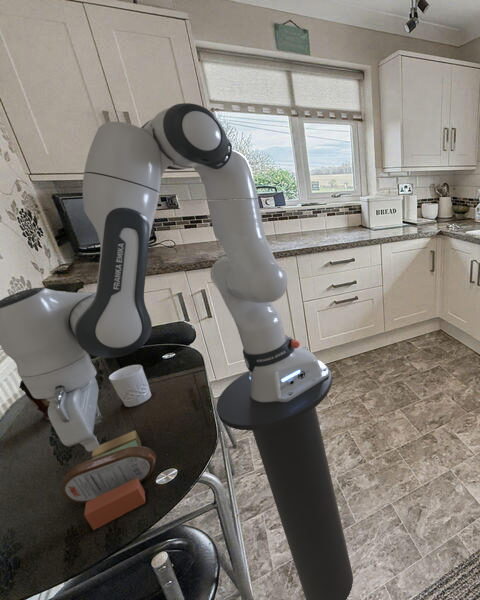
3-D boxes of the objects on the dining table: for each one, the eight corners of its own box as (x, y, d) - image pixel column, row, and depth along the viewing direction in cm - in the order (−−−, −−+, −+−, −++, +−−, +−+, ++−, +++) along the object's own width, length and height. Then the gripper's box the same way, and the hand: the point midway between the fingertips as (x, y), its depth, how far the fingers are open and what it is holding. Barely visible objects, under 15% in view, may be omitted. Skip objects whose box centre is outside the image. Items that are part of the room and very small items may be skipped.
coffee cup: (31, 426, 92) (7, 388, 87) (48, 409, 99) (27, 372, 94) (69, 416, 94) (48, 378, 90) (83, 400, 102) (64, 364, 97)
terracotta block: (144, 491, 68) (137, 477, 66) (145, 502, 65) (138, 488, 64) (94, 517, 63) (85, 502, 62) (93, 530, 61) (84, 515, 59)
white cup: (115, 406, 97) (102, 378, 94) (142, 390, 104) (130, 363, 100) (133, 410, 95) (120, 381, 91) (159, 393, 101) (148, 365, 98)
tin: (161, 466, 74) (148, 437, 71) (159, 477, 71) (145, 447, 68) (75, 500, 67) (56, 469, 64) (70, 512, 65) (50, 481, 62)
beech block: (141, 442, 82) (135, 430, 80) (141, 450, 79) (135, 437, 78) (100, 460, 77) (92, 447, 76) (99, 469, 74) (91, 456, 73)
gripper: (79, 392, 54) (114, 455, 59) (89, 350, 69) (116, 403, 74) (25, 412, 50) (67, 477, 55) (48, 363, 65) (80, 417, 71)
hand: (95, 434), depth 65 cm, fingers open, 8 cm apart
